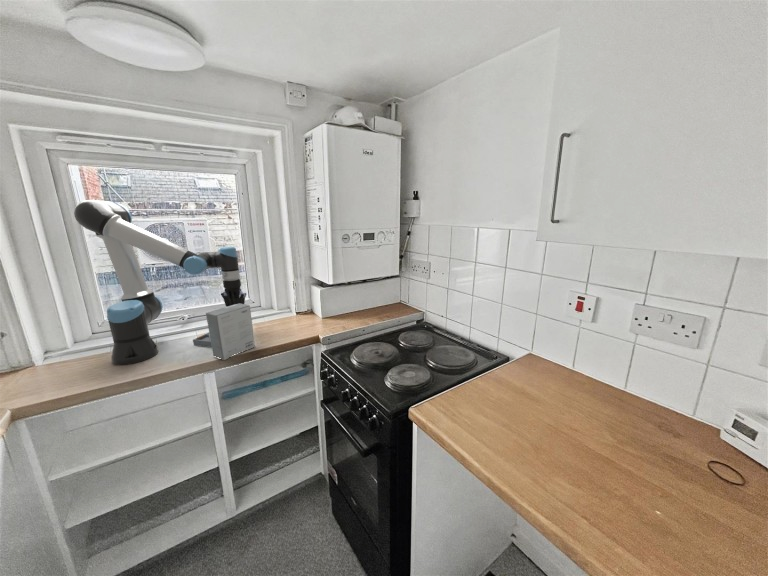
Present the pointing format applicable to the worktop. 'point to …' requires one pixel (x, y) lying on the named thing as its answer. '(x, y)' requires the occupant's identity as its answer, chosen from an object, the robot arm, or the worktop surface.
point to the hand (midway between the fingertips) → (237, 325)
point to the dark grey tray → (202, 340)
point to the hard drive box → (230, 330)
